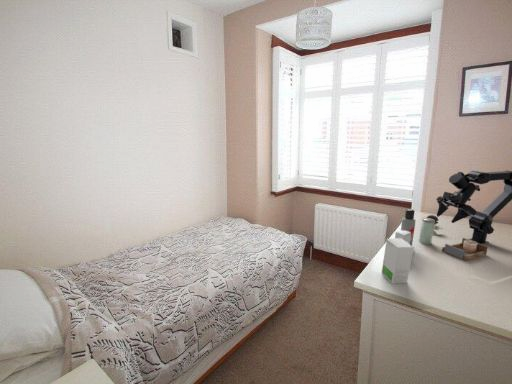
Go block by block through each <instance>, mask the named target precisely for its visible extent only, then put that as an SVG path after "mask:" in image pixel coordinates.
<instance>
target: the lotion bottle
mask: <svg viewBox="0 0 512 384" xmlns="http://www.w3.org/2000/svg"><path fill="white" fill-rule="evenodd" d="M415 229H416V219H415V209H412V208H409V209H405V214H404V217H402V219H401V227H400V231H401V230H405V231H409V232H411V238H410V245H411V246H412V247H413V241H414V235H415V234H414V233H415Z"/></svg>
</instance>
